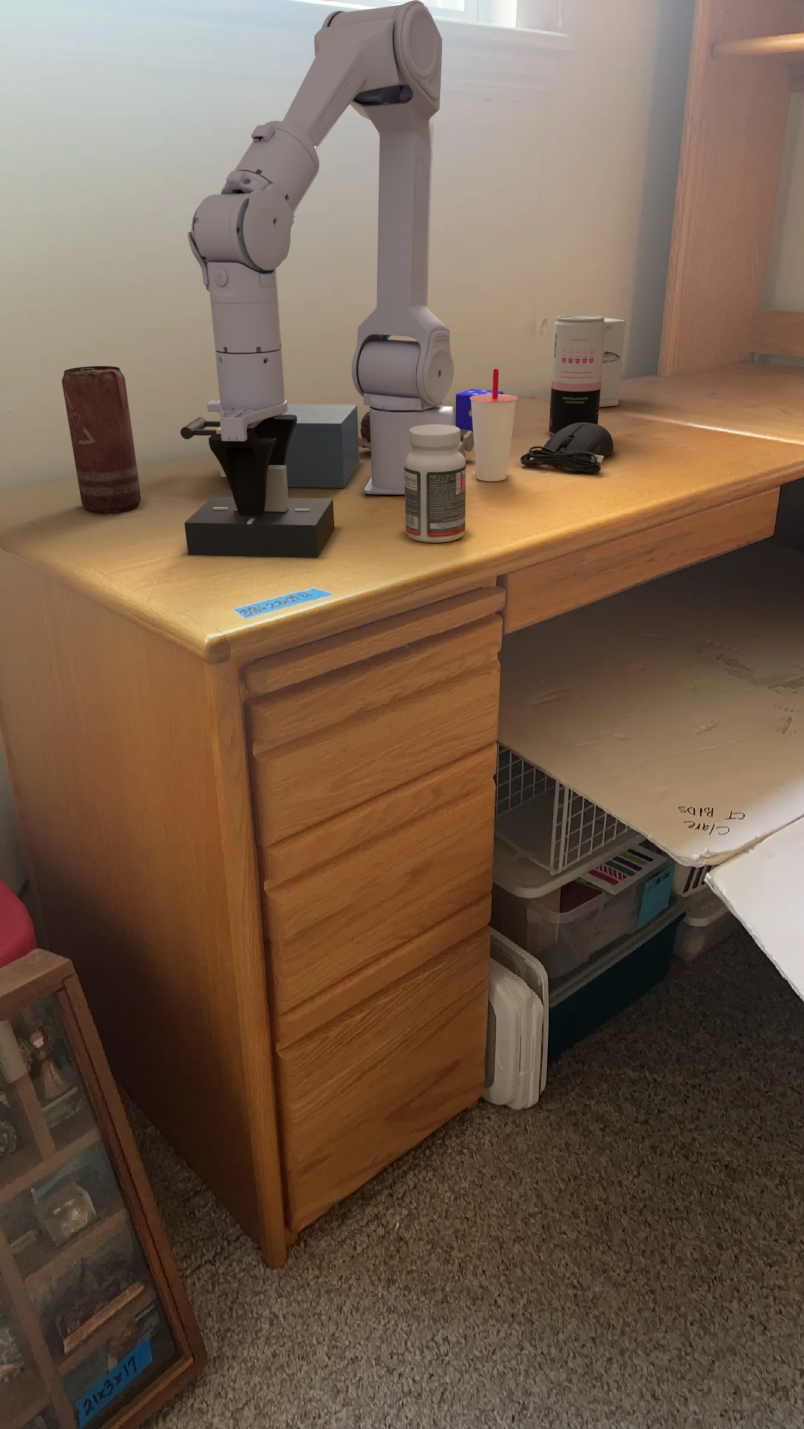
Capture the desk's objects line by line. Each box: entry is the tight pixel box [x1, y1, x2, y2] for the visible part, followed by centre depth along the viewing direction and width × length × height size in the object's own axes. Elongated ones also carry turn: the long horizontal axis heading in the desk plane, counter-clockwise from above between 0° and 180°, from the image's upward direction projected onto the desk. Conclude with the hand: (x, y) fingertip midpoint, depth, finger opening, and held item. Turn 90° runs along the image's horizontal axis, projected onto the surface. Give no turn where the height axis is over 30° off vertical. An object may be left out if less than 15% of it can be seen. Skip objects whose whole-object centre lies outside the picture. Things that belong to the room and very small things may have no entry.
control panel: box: [183, 496, 335, 558], centre depth 92 cm, size 12×9×3 cm
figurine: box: [358, 410, 474, 459], centre depth 125 cm, size 8×5×15 cm
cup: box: [470, 368, 519, 482], centre depth 111 cm, size 5×5×12 cm
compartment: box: [283, 403, 360, 489], centre depth 114 cm, size 13×12×7 cm
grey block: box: [231, 465, 289, 512], centre depth 91 cm, size 5×1×4 cm, turn 84°
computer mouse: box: [519, 423, 615, 474], centre depth 121 cm, size 10×15×4 cm
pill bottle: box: [404, 424, 467, 544], centre depth 92 cm, size 6×6×10 cm
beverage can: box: [548, 314, 606, 436], centre depth 131 cm, size 6×6×15 cm
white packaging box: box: [599, 317, 626, 408], centre depth 152 cm, size 7×7×13 cm
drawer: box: [179, 416, 227, 478], centre depth 115 cm, size 16×10×5 cm, turn 84°
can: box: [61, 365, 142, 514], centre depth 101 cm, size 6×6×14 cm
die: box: [455, 388, 504, 432], centre depth 138 cm, size 5×5×5 cm
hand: (260, 504), depth 91 cm, fingers open, 6 cm apart
